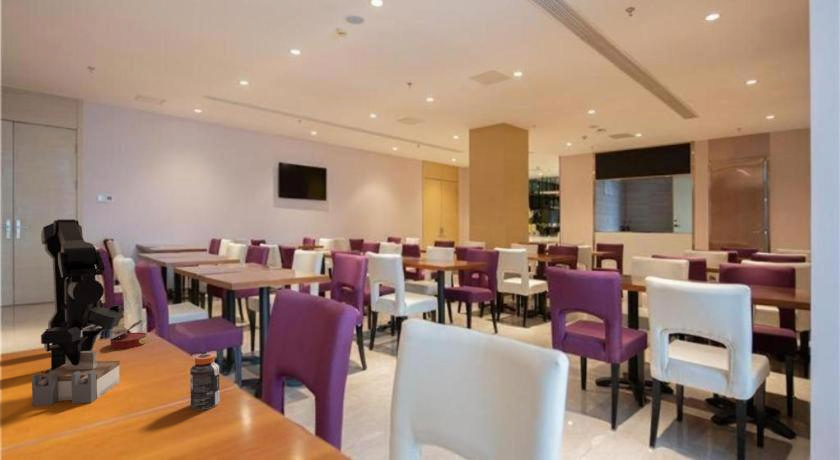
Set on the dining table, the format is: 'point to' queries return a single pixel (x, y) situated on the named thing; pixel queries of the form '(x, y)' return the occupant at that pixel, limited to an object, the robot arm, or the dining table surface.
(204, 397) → the pill bottle
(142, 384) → the dining table surface
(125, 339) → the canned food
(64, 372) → the grey tabbed base plate
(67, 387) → the grey notched open box
